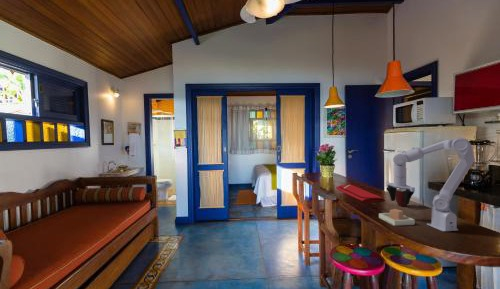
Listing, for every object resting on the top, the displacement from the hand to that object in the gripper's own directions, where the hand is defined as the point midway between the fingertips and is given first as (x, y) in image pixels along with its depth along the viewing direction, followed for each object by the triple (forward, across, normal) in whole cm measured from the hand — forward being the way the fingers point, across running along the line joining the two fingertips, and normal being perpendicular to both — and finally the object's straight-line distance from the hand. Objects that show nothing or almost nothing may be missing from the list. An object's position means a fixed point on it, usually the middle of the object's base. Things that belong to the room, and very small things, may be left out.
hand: (399, 202), depth 131 cm
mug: (+10, +16, -25) cm, 31 cm away
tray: (+9, 0, +3) cm, 10 cm away
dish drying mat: (+10, +52, -24) cm, 59 cm away
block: (+9, 0, +3) cm, 9 cm away
